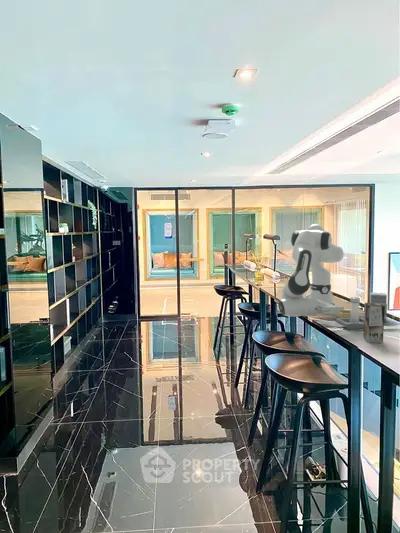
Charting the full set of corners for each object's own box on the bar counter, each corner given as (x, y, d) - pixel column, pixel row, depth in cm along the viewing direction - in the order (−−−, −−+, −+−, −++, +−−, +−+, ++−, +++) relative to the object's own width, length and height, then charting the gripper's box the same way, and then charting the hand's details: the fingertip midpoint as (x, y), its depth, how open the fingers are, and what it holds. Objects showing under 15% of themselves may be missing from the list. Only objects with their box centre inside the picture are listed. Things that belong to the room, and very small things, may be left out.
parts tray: (335, 324, 204) (335, 318, 203) (361, 323, 205) (361, 317, 205) (346, 330, 192) (347, 323, 192) (373, 329, 194) (374, 323, 193)
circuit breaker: (370, 325, 201) (371, 296, 200) (369, 319, 214) (370, 292, 213) (386, 326, 198) (387, 297, 197) (384, 320, 211) (385, 293, 210)
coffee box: (383, 343, 169) (385, 306, 168) (367, 342, 171) (369, 305, 169) (378, 337, 178) (379, 302, 177) (363, 337, 179) (364, 301, 178)
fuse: (347, 324, 201) (348, 297, 199) (356, 324, 201) (357, 297, 200) (352, 326, 196) (353, 298, 195) (360, 326, 197) (361, 298, 195)
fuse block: (330, 317, 219) (330, 309, 219) (350, 317, 220) (350, 309, 220) (340, 322, 207) (340, 314, 207) (361, 322, 209) (362, 313, 208)
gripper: (320, 304, 184) (348, 303, 186) (304, 297, 204) (329, 297, 206) (320, 317, 185) (348, 317, 186) (303, 309, 205) (329, 308, 207)
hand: (338, 306), depth 196 cm, fingers open, 8 cm apart
